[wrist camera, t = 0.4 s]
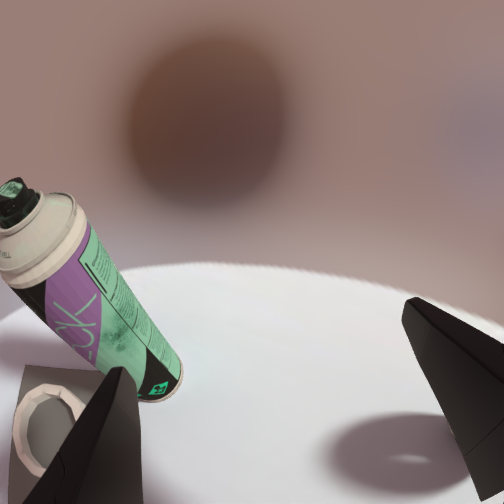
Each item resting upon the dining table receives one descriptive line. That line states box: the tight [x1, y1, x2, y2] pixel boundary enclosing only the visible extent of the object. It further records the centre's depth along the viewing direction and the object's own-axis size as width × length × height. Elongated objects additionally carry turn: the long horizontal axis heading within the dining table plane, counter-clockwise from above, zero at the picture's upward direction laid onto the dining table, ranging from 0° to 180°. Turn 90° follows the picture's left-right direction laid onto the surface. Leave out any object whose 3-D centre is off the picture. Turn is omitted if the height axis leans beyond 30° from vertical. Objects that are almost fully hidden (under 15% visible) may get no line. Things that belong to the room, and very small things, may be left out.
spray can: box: [0, 177, 183, 403], centre depth 17 cm, size 6×6×20 cm
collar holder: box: [8, 365, 106, 504], centre depth 19 cm, size 18×12×2 cm, turn 3°
